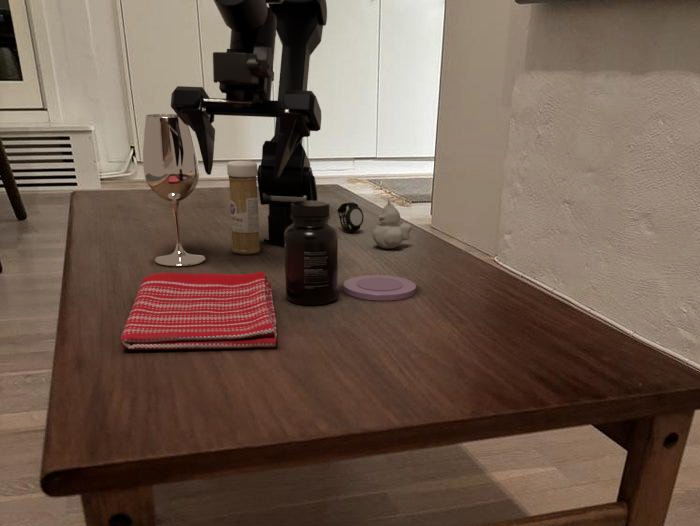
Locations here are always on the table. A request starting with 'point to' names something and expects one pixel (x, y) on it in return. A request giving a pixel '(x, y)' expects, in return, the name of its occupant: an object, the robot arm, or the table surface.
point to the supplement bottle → (311, 255)
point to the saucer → (379, 287)
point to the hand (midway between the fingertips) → (242, 175)
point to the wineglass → (171, 173)
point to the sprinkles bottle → (244, 206)
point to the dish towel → (201, 312)
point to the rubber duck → (390, 228)
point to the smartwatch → (350, 217)
